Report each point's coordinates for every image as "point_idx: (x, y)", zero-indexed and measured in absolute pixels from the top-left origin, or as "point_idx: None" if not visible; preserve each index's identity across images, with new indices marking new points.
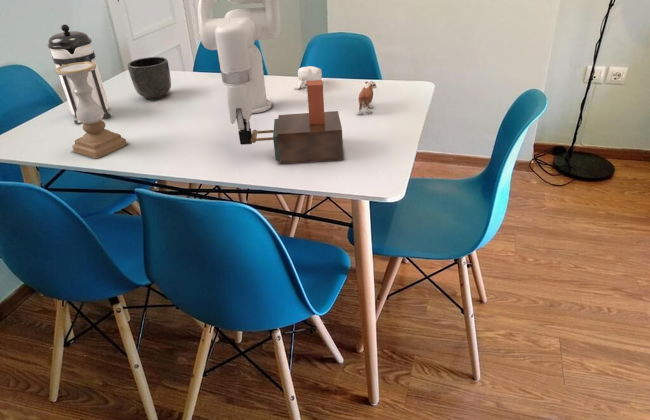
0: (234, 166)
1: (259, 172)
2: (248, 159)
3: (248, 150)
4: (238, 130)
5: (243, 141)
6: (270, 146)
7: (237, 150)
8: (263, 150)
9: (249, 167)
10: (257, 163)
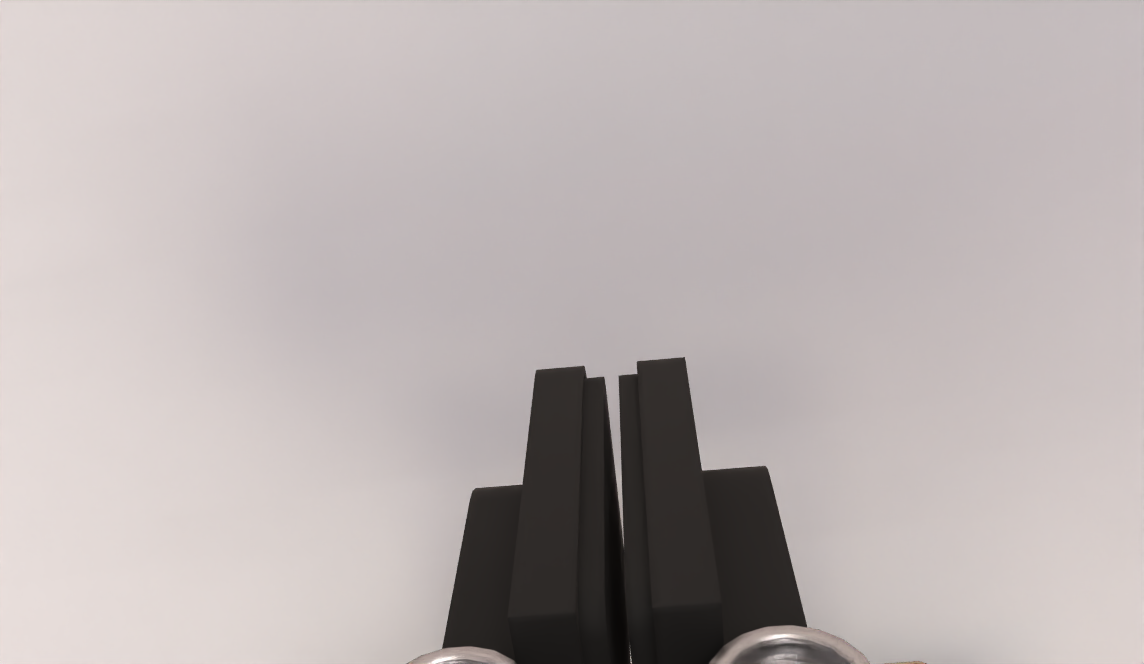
0: (152, 160)
1: (22, 577)
2: (463, 352)
3: (864, 285)
4: (560, 613)
5: (472, 512)
6: (968, 605)
7: (905, 59)
8: (820, 528)
9: (157, 419)
10: (317, 510)
